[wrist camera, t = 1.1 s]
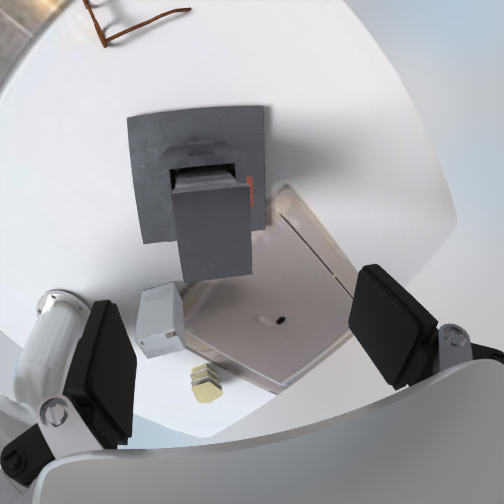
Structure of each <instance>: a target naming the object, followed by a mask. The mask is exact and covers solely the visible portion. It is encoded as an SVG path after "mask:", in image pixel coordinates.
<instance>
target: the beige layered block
mask: <svg viewBox="0 0 504 504" xmlns="http://www.w3.org/2000/svg"><path fill="white" fill-rule="evenodd" d="M190 376H191V378H192V381H191V384H192V386H193V387H192V390H193V392H194V395H195V397H196V399H197V401H199V402H200V403H210V402H212V401H213V400H215V399H217V398H219V397H221V396H222V395H223V392H222V391H221V390H222V386H221V385H220V384H219V383H220V382H221V380H220V378H219V377H218V374H217V373H216V372H212V371H211V370H210V368H209V367H208V366H207V365H206V364H203V365H201V366H198V367H195V368H193V369H192V373H191V374H190Z"/></svg>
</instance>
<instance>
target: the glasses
mask: <svg viewBox="0 0 504 504" xmlns="http://www.w3.org/2000/svg"><path fill="white" fill-rule="evenodd" d="M83 2H84V4H85V7H86V9H88V10H89V13H90V15H91V17H92V20H93V22H94V25H95V28H96V31H97V34H98V36H99V38H100V40H101V43H102V45H103V47H104V48H106V47H107V44H106V43H107V42H109V41H111V40H113V39H115V38H117V37H120V36H122V35H124V34H126V33H128V32H130V31H133V30H135V29H137V28H140V27H142V26H144V25H147V24H149V23H151V22H153V21H155V20H157V19H159V18H161V17H164V16H166V15H169V14H171V13H176V12H184V11H188V10H191V8H180V9H174V10H171V11H168V12H165V13H162V14H160V15H158V16H156V17H154V18H152V19H150V20H147V21H145V22H142V23H140V24H138V25H135V26H133V27H131V28H128V29H126V30H124V31H122V32H120V33H117V34H115V35H113V36H111V37H109V38H107V39H105V38H104V35H103V33H102V30H101V28H100V26H99V24H98V22H97V20H96V19H95V17H94V14H93V12H92V10H91V7H90V5H89V3H88V0H83Z"/></svg>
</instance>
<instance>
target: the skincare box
mask: <svg viewBox="0 0 504 504" xmlns="http://www.w3.org/2000/svg"><path fill="white" fill-rule="evenodd" d="M134 340H135V341H136V343H137V344H138V346H139V347H140V349H141V350H142V351H143V353H144V354H145V356H146V357H147V358H148V359H149V358H153V357H157V356H160V355H164V354H168V353H172V352H175V351H179V350H183V349H185V348H186V346H185V333H184V318H183V301H182V299H181V297H180V294H179V292H178V290H177V287H176V285H175V282H171V283H168V284H164V285H161V286H158V287H155V288H151V289H148V290H145V291H142V294H141V299H140V305H139V311H138V317H137V323H136V330H135V337H134Z"/></svg>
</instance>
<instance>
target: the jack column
mask: <svg viewBox="0 0 504 504" xmlns="http://www.w3.org/2000/svg"><path fill="white" fill-rule="evenodd" d="M175 186H176V188H175V189H174V190H172V193H171V196H172V204H173V213H174V220H175V228H176V235H177V242H178V249H179V255H180V261H181V267H182V273H183V279H184V283H188V282H196V281H204V280H212V279H219V278H227V277H234V276H242V275H249V274H252V245H251V210H250V186H249V185H248V184H247V183H239V182H237V181H236V180H235V177H232V175H231V173H229V172H228V171H227V170H226V168H225V167H224V166H223V165H222V164H216V165H205V166H195V167H186V168H179V170H178V176H177V178H176V183H175Z"/></svg>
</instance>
